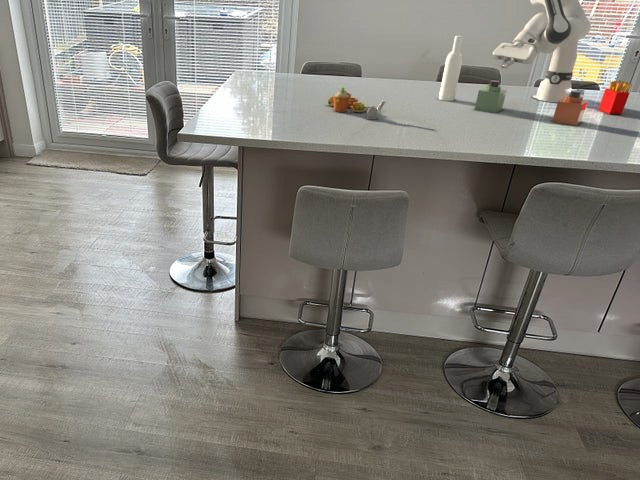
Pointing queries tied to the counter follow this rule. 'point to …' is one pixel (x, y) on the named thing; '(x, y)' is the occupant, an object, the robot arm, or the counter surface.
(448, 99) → the bottle
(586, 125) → the counter surface
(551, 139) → the counter surface
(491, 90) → the sage bottle
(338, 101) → the toy tea set
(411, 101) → the counter surface
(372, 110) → the grey mortar and pestle
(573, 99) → the clay bottle
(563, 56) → the robot arm
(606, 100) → the french fries container
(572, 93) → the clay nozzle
